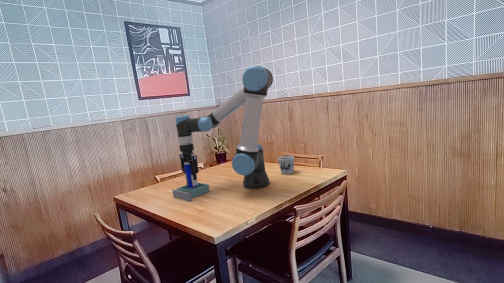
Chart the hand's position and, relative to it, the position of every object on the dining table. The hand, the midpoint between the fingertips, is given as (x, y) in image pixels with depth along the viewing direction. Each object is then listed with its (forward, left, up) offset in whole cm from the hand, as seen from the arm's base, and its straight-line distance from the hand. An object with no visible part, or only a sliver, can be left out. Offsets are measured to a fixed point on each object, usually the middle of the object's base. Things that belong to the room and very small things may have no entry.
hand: (192, 184), depth 155 cm
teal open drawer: (0, 0, -5) cm, 5 cm away
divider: (-2, +8, -5) cm, 10 cm away
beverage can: (0, 0, -2) cm, 2 cm away
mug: (-26, -55, -5) cm, 61 cm away
